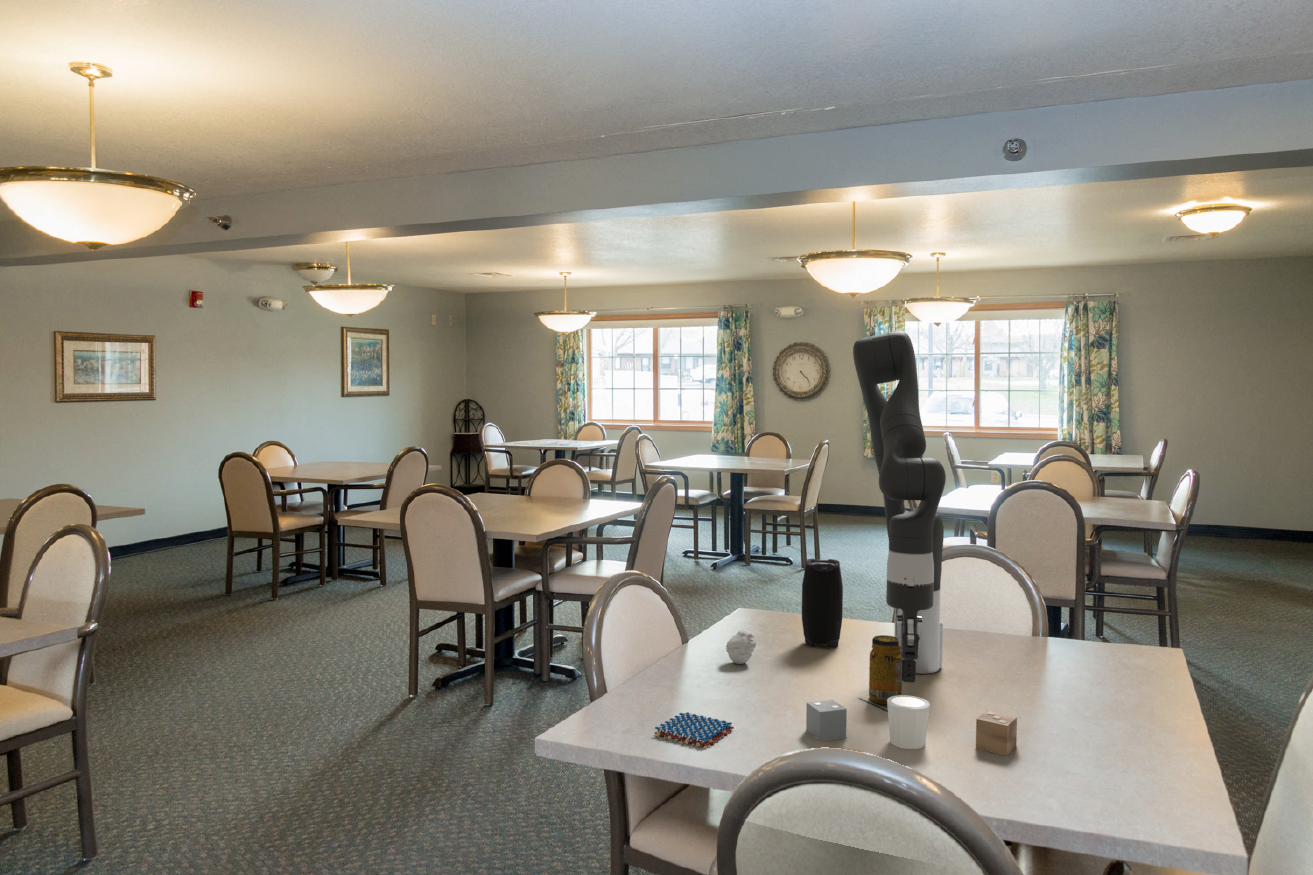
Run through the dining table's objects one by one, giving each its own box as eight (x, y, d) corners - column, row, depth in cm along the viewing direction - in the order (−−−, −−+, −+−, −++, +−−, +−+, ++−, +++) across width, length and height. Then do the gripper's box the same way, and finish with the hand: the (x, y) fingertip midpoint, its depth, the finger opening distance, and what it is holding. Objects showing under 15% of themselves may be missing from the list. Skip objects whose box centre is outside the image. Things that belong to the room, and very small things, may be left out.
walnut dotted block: (985, 739, 152) (986, 709, 152) (1016, 746, 149) (1017, 716, 149) (975, 748, 148) (976, 718, 148) (1006, 756, 145) (1007, 725, 145)
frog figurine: (762, 664, 194) (762, 632, 193) (737, 669, 190) (737, 636, 190) (744, 657, 199) (744, 626, 198) (719, 662, 195) (719, 630, 195)
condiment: (887, 692, 176) (888, 631, 175) (918, 706, 168) (919, 642, 167) (857, 698, 172) (858, 636, 172) (887, 712, 165) (888, 647, 164)
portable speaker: (794, 641, 211) (795, 559, 210) (828, 637, 215) (829, 556, 214) (814, 651, 203) (815, 565, 203) (849, 647, 207) (850, 562, 206)
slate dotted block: (832, 727, 157) (832, 698, 157) (846, 738, 152) (846, 708, 152) (806, 730, 156) (806, 701, 155) (819, 741, 151) (819, 711, 151)
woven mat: (706, 752, 147) (707, 740, 147) (652, 739, 153) (652, 727, 153) (736, 732, 156) (736, 721, 156) (683, 720, 162) (683, 709, 161)
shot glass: (880, 735, 153) (881, 694, 153) (919, 734, 154) (920, 693, 154) (894, 751, 147) (895, 708, 146) (935, 749, 147) (936, 707, 147)
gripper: (886, 569, 156) (884, 667, 157) (887, 584, 143) (885, 691, 144) (931, 571, 155) (929, 670, 155) (936, 587, 142) (934, 695, 143)
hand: (908, 680), depth 150 cm, fingers closed
